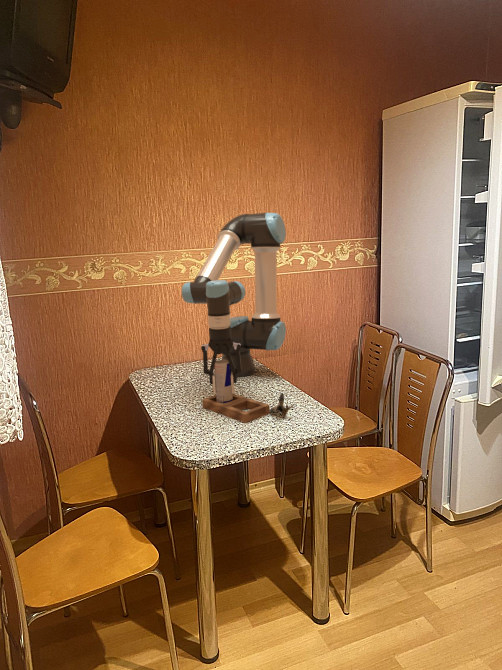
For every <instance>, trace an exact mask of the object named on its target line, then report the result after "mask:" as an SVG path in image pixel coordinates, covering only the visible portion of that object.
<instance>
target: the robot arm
mask: <svg viewBox="0 0 502 670" xmlns="http://www.w3.org/2000/svg"><path fill="white" fill-rule="evenodd" d="M286 234H287V233H286V225H285V222H284V220H283V217H282V216H281V215H280V214H279V213H276V212H262V213H260V212H259V213H243V214H240V215H237V216H235V217H233V218H232V219H230V220H229V221H227V223H226V224H225V225H223V226H222V228H221V229H220V231H219V233H218V234H217V237H216V238H217V241H216V243H215V245H214V246H213V248H212V249H211V251H210V252H209V255H208V256H207V258H206V260H205V262H204V263H203V265H202V267H201V268H200V270H199V271H198V273H197V274H196V277H195V278H194V279H193V281H189V282H185V283H184V284H183V285H182V287H181V297H182V299H183V301H184V302H185V303H188V304H194V305H195V304H202V305H206V307H207V324H208V327H209V328H208V337H209V340H208V343H206V344H201V346H200V349H201V352H202V358H203V359H202V365H203V368H202V369H203V375H208V376H209V379H208V380H209V384H210V385H212V386H213V387H212V388H213V390H212V391H213V395H216V384H215V373H214V372H215V370H214V365H215V362H216V361H217V357H218V355H222V356H221V359H220V360H228V362H229V365H230V368H231V388H232V393H233V394H235V384H237V383H238V378H242V377H247V376H250V375H252V374H255V373H256V365H255V363H254V359H253V357H252V354H251V350H259V351H260V350H262V351H263V350H264V351H278V350H280V348H281V347H282V345H284V342H285V339H286V334H287V332H286V331H287V330H286V328H287V326H286V324H285V322H284V321H282V320H281V315H280V314H279V313H278V312H277V310H278V309H277V306H278V305H277V301H278V299H277V295H278V294H277V289H278V287H277V285H278V283H277V273H278V272H277V269H278V268H277V262H278V261H277V253H278V252H279V250H280V249H281V244H283V243H284V242H285V240H286V236H287V235H286ZM245 244H250V249H251V250H252V251H253V252H254V294H255V296H254V300H255V301H254V303H255V304H254V305H255V306H254V307H255V308H254V309H255V311H254V314H252V316H251V320H250V319H249V317H248V316H247V315H239V316H233V317H231V307H230V306H233V305H235V304H238V303H240V302H241V301H242V300H243V299H244V298H245V296H246V288H245V286H244V285H243V283H242V282H240V281H236V280H234V281H233V280H232V281H229V282H228V281H227V280H224V279H220V277H221V276H222V274H223V273H224V270H225V268H226V266H227V265H228V262H230V259H231V257H232V256H233V254H234V252H235V251H236V250H238V249H239V248H240V247H241V245H245ZM209 348H210V350H211V351H212V352H213V354H212V360H211V363H210V367H209V365H208V364H209V363H208V351H209ZM208 367H209V368H208Z"/></svg>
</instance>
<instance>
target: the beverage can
mask: <svg viewBox="0 0 502 670" xmlns="http://www.w3.org/2000/svg"><path fill="white" fill-rule="evenodd" d="M214 374H215V384H216V394H215V395H216V399H217V402H219V403H222V404H225V403H228V402H231V401H233V395H232V388H231V368H230V365H229V362H228V360H221V359H216V362H215V365H214Z"/></svg>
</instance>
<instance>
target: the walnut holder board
mask: <svg viewBox="0 0 502 670" xmlns="http://www.w3.org/2000/svg"><path fill="white" fill-rule="evenodd" d="M232 395H233V401H231V402H228V403H225V404H222V403H219V402H217V399H216V394H213V395H212V396H208V397H205V398H203V399H202V401H201V403H202V408H203V409H204V410H209V411H211V412H213V413H216V414H219V415H222V416H224V417H227V418H229V419H234V420H235V421H239V422H241V423H244V424H247V423H249V422H252V421H255V420H257V419H260V418H262V417H264V416H267V415H270V414H271V411H270V410H271V408H270V404H268V403H264V402H260V401H259V400H255V399H251V398H249V397H245V396H242V395H240V394H236V393H232ZM245 410H246V411H245Z"/></svg>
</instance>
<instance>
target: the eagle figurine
mask: <svg viewBox="0 0 502 670" xmlns="http://www.w3.org/2000/svg"><path fill="white" fill-rule="evenodd" d="M284 402H285V395H284V392H281V393H280V395H279V398H278V404H276V406H273V407H272V408H270V413H272V412H276V411H279V413H281V414H282V418H283V419H285V418H286V416H287V414H288V411H289V410H291V409H292V408H293V407H294V405H295V403H293V404H292V405H290V406H289V405H288V404H286V406H284Z"/></svg>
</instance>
